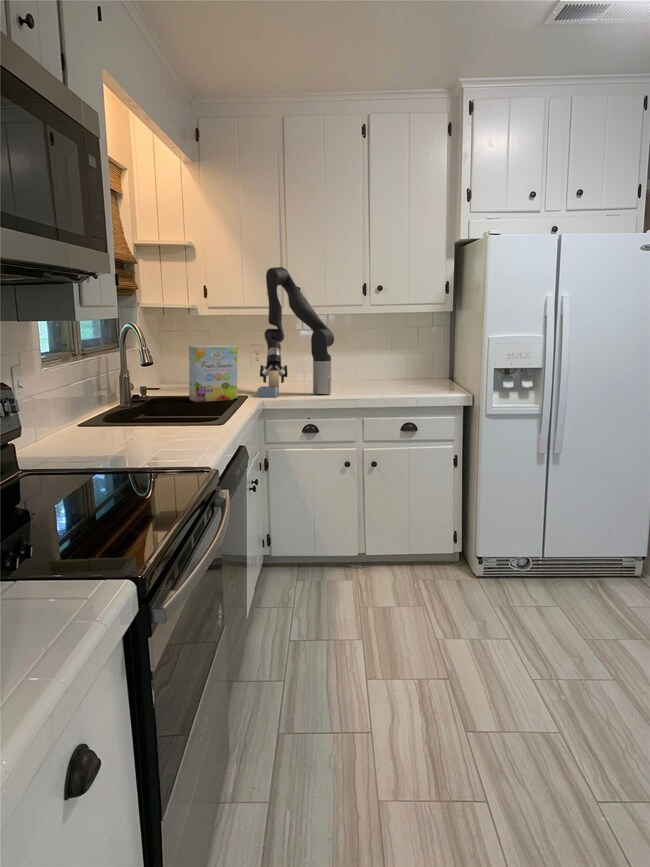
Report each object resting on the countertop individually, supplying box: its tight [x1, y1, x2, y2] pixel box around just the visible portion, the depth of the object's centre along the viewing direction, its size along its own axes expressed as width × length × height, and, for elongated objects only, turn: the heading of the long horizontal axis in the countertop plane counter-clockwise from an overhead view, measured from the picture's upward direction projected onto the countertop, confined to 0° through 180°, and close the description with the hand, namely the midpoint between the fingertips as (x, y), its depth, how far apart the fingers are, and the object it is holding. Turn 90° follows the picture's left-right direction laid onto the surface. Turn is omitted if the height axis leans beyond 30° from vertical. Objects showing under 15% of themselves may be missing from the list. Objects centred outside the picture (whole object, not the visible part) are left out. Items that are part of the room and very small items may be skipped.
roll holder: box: [256, 385, 281, 399], centre depth 310 cm, size 10×9×4 cm
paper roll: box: [268, 370, 280, 394], centre depth 318 cm, size 5×5×12 cm
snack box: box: [188, 344, 238, 403], centre depth 292 cm, size 22×9×26 cm, turn 123°
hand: (273, 382), depth 317 cm, fingers open, 8 cm apart
